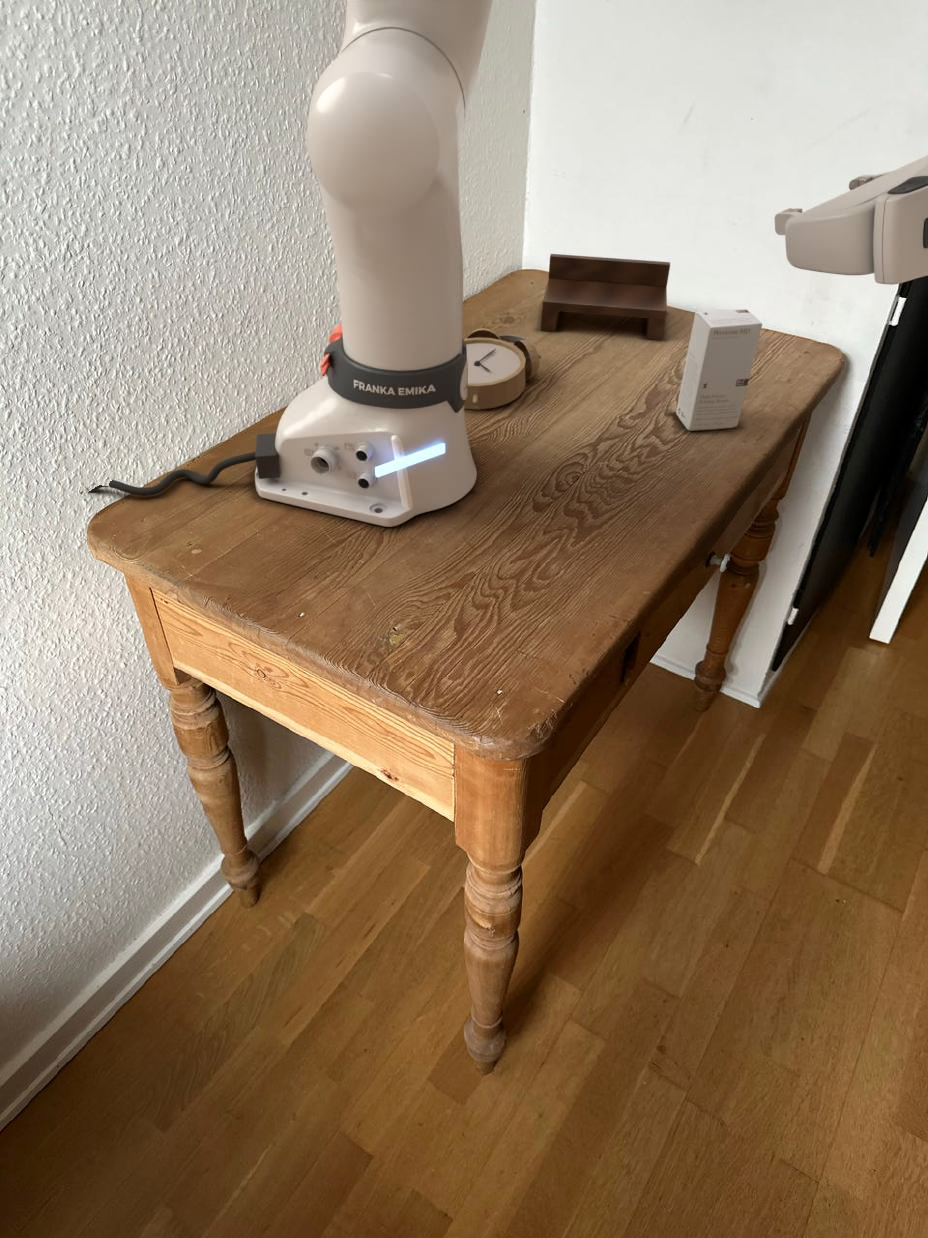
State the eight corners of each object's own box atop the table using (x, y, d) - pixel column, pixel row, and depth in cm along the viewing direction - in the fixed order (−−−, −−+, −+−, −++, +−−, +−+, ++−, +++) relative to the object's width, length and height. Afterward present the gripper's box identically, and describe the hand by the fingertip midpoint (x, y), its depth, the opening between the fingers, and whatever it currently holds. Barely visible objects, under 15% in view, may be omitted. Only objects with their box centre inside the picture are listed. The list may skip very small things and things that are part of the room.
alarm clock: (408, 369, 105) (482, 306, 112) (414, 404, 108) (485, 341, 116) (488, 397, 100) (559, 329, 107) (491, 433, 103) (560, 365, 111)
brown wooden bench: (540, 330, 120) (544, 277, 115) (546, 304, 127) (550, 253, 122) (662, 340, 118) (670, 287, 114) (661, 312, 125) (670, 261, 120)
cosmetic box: (688, 432, 100) (709, 327, 92) (673, 413, 104) (692, 310, 96) (740, 427, 101) (765, 323, 93) (723, 408, 105) (746, 306, 97)
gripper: (1052, 122, 71) (896, 131, 82) (878, 205, 64) (733, 202, 75) (1043, 207, 75) (895, 204, 85) (877, 293, 68) (738, 278, 78)
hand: (817, 204), depth 80 cm, fingers open, 8 cm apart
